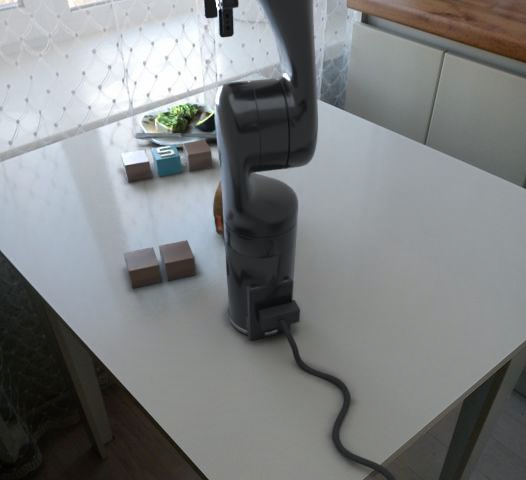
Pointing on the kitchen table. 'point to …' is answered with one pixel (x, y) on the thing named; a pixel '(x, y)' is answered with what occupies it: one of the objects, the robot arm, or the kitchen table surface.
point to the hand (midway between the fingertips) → (218, 26)
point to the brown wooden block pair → (147, 268)
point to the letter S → (166, 160)
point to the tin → (218, 210)
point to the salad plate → (179, 125)
